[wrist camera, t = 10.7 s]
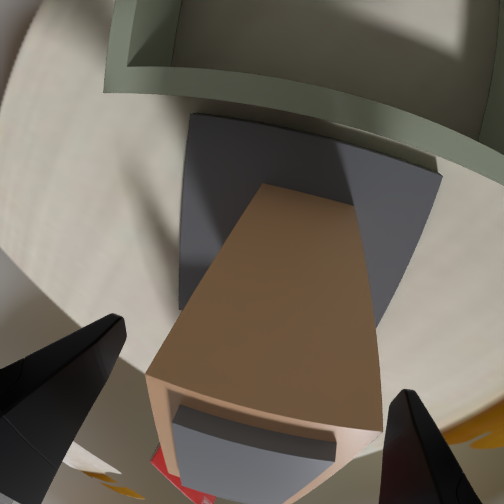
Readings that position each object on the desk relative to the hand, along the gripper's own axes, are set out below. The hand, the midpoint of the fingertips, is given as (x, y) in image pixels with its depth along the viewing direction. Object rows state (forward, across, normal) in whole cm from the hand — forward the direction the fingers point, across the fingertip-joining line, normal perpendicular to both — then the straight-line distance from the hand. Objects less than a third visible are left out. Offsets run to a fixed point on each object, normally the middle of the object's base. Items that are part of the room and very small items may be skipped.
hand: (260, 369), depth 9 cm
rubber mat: (+7, 0, 0) cm, 7 cm away
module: (+7, 0, 0) cm, 7 cm away
